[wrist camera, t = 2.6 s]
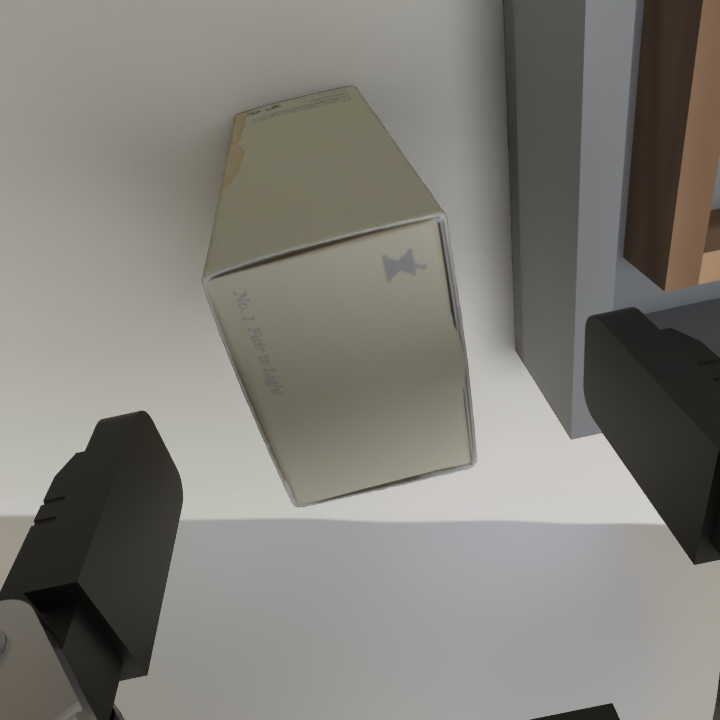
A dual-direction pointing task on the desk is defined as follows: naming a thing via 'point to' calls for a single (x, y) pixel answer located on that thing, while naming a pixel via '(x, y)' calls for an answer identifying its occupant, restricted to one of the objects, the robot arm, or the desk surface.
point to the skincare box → (339, 301)
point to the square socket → (676, 146)
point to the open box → (579, 192)
